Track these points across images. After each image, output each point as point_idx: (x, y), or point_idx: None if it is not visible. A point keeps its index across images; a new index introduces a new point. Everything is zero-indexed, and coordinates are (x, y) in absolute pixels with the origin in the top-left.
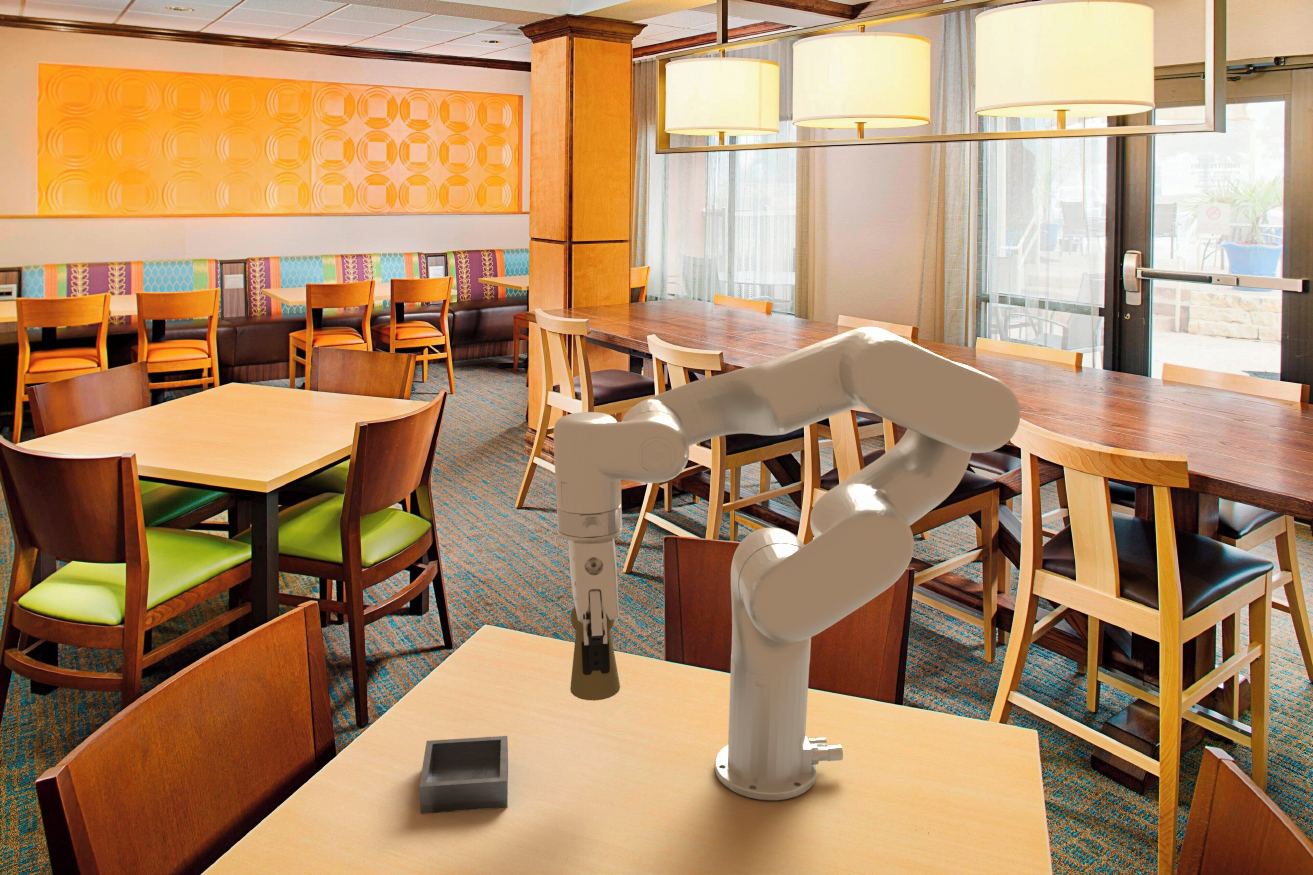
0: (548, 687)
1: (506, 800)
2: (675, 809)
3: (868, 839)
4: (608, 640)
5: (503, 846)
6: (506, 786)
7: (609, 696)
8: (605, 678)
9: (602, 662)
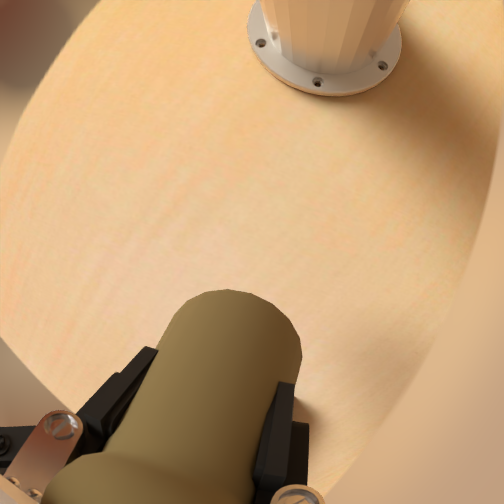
0: (42, 271)
1: (293, 402)
2: (381, 188)
3: (471, 14)
4: (269, 474)
5: (363, 408)
6: (292, 414)
7: (298, 339)
8: (291, 379)
9: (307, 438)
